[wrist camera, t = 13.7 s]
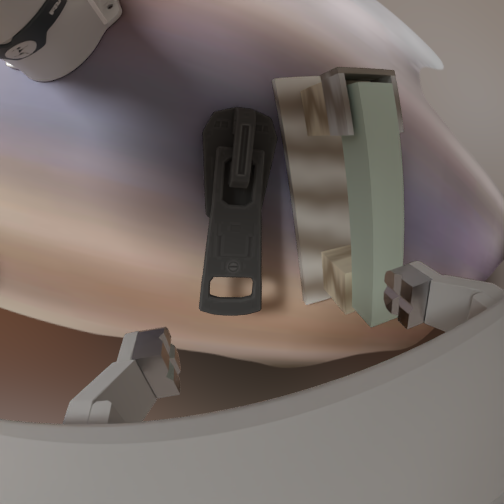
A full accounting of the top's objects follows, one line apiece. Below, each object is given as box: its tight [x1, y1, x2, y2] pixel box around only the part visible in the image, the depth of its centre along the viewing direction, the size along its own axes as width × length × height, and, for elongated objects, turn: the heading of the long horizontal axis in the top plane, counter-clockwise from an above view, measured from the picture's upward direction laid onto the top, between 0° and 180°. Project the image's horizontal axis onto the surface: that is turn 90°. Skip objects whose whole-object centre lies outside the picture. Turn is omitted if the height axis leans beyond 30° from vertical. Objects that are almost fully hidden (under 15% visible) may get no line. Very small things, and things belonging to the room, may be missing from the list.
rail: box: [341, 82, 404, 327], centre depth 29 cm, size 26×4×5 cm, turn 10°
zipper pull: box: [199, 107, 277, 316], centre depth 35 cm, size 9×7×25 cm
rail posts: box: [272, 67, 404, 315], centre depth 34 cm, size 32×12×13 cm, turn 10°
